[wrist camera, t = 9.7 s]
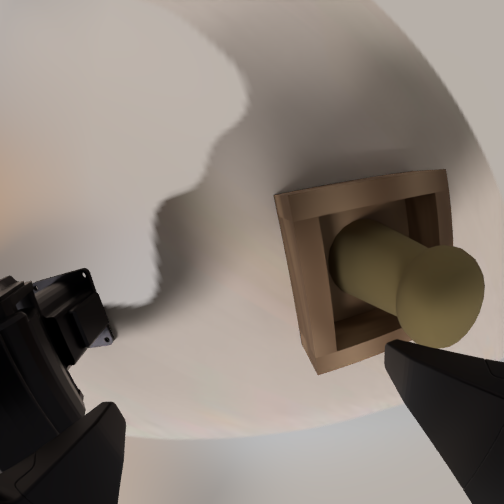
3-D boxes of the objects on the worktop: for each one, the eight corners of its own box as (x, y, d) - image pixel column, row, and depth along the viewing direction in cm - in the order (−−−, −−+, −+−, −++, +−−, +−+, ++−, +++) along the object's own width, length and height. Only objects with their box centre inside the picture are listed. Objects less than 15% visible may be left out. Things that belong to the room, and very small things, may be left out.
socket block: (301, 344, 22) (318, 375, 18) (273, 195, 20) (287, 195, 15) (421, 303, 23) (450, 321, 18) (410, 171, 20) (445, 169, 16)
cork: (392, 290, 22) (484, 349, 11) (327, 299, 21) (404, 382, 10) (396, 217, 20) (505, 240, 10) (327, 219, 20) (426, 247, 9)
